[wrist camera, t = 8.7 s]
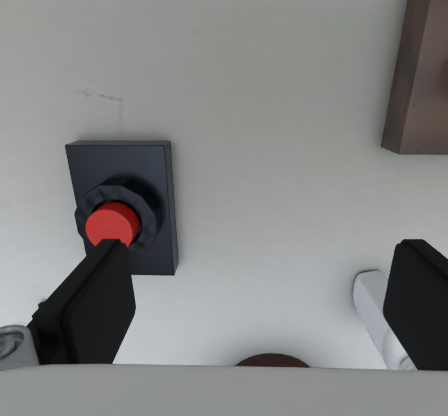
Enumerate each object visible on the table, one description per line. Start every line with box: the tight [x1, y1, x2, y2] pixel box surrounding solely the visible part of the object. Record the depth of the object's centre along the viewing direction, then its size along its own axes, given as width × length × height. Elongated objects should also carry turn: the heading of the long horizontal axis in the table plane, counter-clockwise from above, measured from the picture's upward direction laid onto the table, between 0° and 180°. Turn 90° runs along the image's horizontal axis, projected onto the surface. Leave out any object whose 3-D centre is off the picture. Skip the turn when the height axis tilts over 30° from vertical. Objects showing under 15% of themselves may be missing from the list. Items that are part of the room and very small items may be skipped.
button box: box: [65, 141, 179, 276], centre depth 26 cm, size 12×8×4 cm, turn 0°
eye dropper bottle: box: [353, 271, 417, 370], centre depth 25 cm, size 4×6×12 cm
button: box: [86, 202, 139, 247], centre depth 24 cm, size 4×4×2 cm
